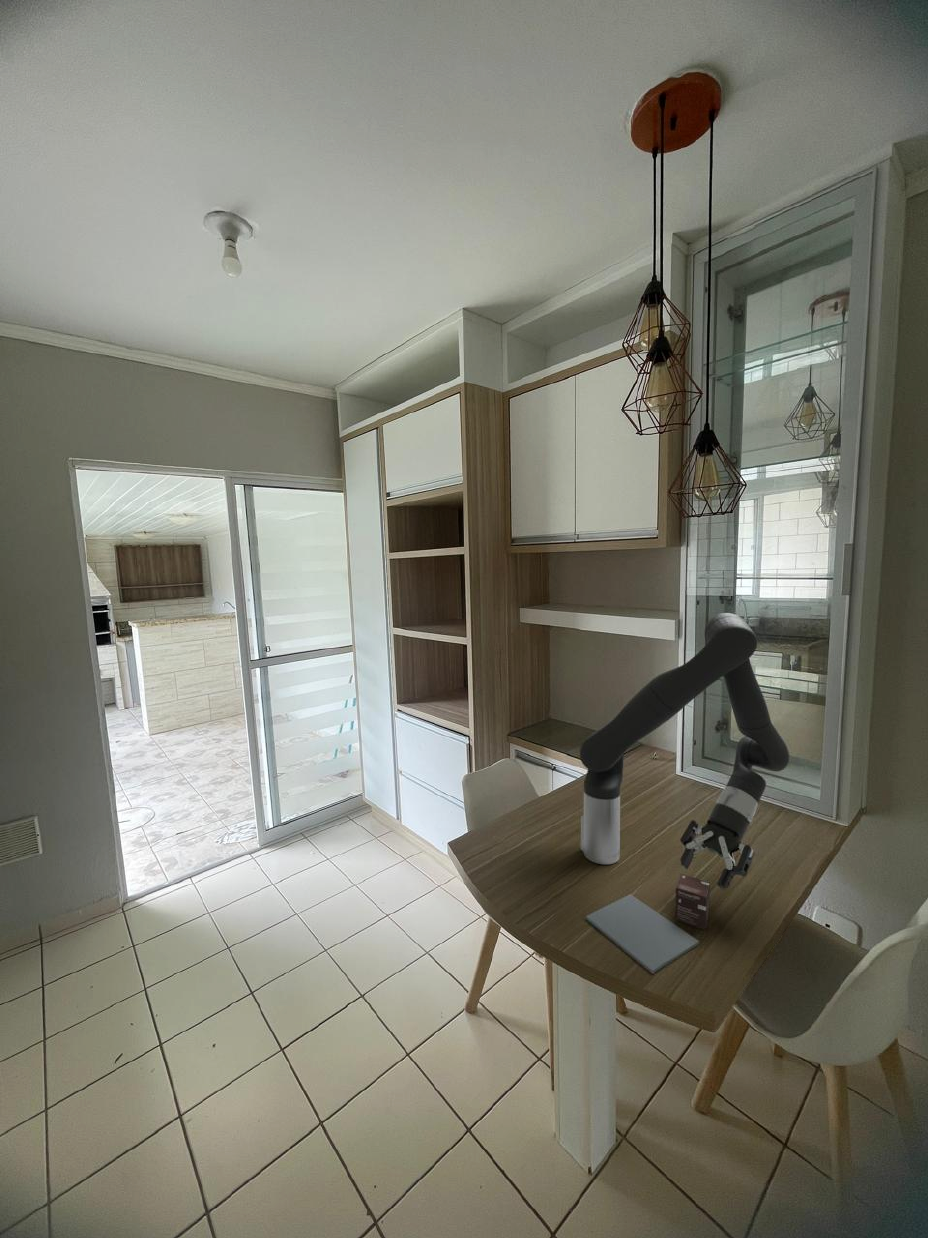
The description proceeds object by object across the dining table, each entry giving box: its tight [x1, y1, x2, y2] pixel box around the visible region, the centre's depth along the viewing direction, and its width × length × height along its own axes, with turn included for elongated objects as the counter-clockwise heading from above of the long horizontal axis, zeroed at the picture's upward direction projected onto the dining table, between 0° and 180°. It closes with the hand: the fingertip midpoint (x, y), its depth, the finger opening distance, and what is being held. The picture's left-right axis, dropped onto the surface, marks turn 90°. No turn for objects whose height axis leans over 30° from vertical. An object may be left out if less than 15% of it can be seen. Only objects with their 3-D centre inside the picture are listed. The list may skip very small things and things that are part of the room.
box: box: [674, 873, 711, 930], centre depth 103 cm, size 6×6×7 cm
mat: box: [585, 893, 700, 974], centre depth 99 cm, size 17×14×1 cm
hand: (701, 876), depth 104 cm, fingers open, 8 cm apart
